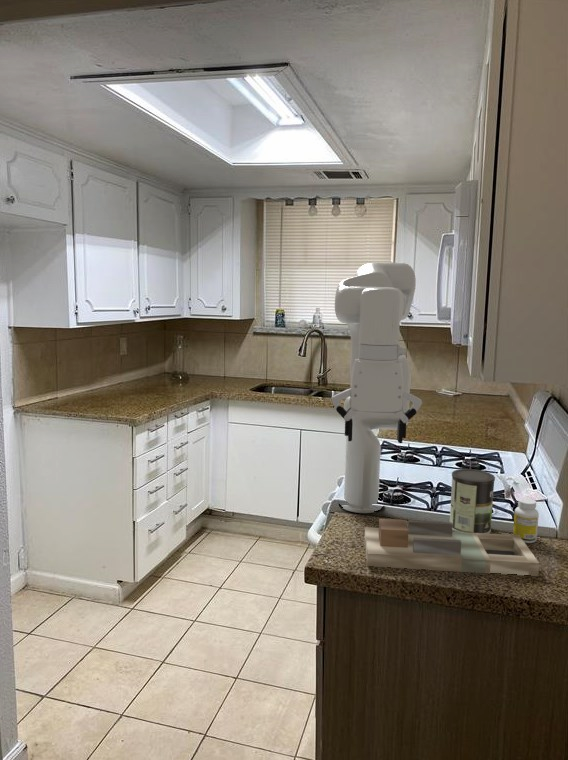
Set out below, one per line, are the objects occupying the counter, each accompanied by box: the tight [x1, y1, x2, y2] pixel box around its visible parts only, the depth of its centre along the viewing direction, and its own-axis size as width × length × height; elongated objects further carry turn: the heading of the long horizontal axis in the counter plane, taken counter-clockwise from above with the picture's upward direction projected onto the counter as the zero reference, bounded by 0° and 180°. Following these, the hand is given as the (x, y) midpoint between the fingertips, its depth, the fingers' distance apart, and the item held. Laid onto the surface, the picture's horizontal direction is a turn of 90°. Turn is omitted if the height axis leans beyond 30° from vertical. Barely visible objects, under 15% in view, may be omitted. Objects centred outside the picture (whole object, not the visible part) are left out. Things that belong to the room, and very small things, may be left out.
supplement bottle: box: [512, 497, 540, 544], centre depth 140 cm, size 5×5×10 cm
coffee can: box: [449, 468, 496, 534], centre depth 146 cm, size 10×10×14 cm
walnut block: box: [378, 518, 409, 548], centre depth 131 cm, size 6×6×4 cm
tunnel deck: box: [363, 519, 540, 577], centre depth 131 cm, size 14×36×6 cm, turn 85°
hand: (374, 440), depth 113 cm, fingers open, 9 cm apart
